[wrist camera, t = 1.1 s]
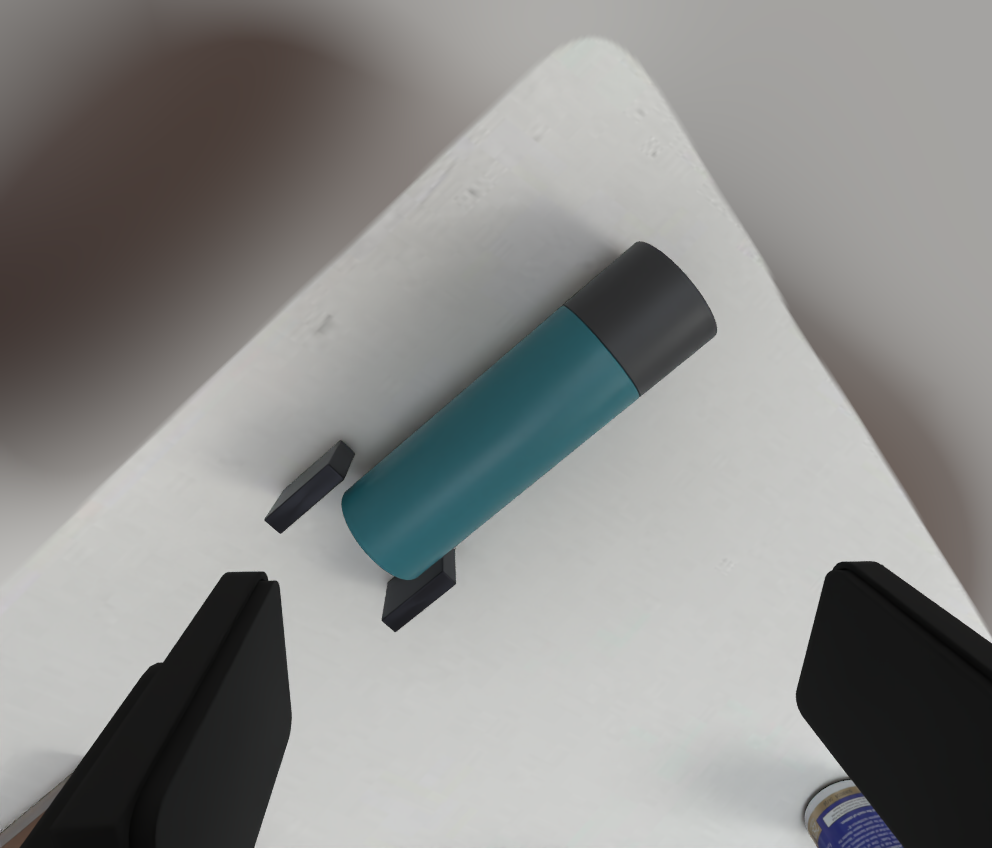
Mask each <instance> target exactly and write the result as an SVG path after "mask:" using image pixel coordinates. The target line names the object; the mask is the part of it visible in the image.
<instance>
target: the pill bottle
mask: <svg viewBox="0 0 992 848" xmlns="http://www.w3.org/2000/svg"><path fill="white" fill-rule="evenodd" d="M805 825H806V829H807V831H808V833H809V834H810V836H811V838H812V839H813V841H814V842H815V844H816V846H817V847H818V848H904V847H903V846H902V845H901V843H900V842H899V841H898V840H897V838H896V837H895V836H894V834H893V833H892V832H891V831H890V829H889V828H888V827H887V825H886V824H885V823H884V821H883V820H882V819H881V818H880V816H879V815H878V814H877V812H876V811H875V810H874V808H873V807H872V806H871V805H870V803H869V802H868V801H867V799H866V798H865V797H864V795H863V794H862V793H861V792H860V790H859V789H858V788H857V786H856V785H855V784H854V783H853V781H852V780H846V781H841V782H838V783H835V784H832V785H830V786H828V787H826V788H825V789H823V790H822V791H820V792H819V793H818V794H817V795H816V796H815V797H814V798H813V799H812V800H811V802H810V803H809V805H808V807H807V809H806V812H805Z"/></svg>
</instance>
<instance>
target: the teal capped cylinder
mask: <svg viewBox="0 0 992 848" xmlns="http://www.w3.org/2000/svg"><path fill="white" fill-rule="evenodd" d="M716 333H717V325H716V322H715V319H714V316H713V314H712V312H711V310H710V308H709V306H708V304H707V303H706V301H705V300H704V298H703V296H702V295H701V293H700V292H699V291H698V289H697V288H696V287H695V285H694V284H693V283H692V282H691V280H690V279H689V278H688V277H687V276H686V274H685V273H684V272H683V271H682V270H681V269H680V268H679V267H678V266H677V265H676V264H675V263H674V262H673V261H672V260H671V259H670V258H668V257H667V256H666V255H665V254H664V253H662V252H661V251H660V250H658V249H657V248H655V247H654V246H652V245H650V244H648V243H645V242H640V241H639V242H636V243H635V244H634V245H632V246H631V247H630V248H629V249H628V250H627V251H625V252H624V253H623V254H622V255H621V256H620V257H618V258H617V259H616V260H615V261H614V262H613V263H611V264H610V265H609V266H608V267H607V268H606V269H604V270H603V271H602V272H601V273H600V274H599V275H597V276H596V277H595V278H594V279H593V280H592V281H590V282H589V283H588V284H587V285H586V286H585V287H583V288H582V289H581V290H580V291H579V292H578V293H576V294H575V295H574V296H573V297H572V298H571V299H569V300H568V301H567V302H566V303H565V304H564V305H563V306H561V307H560V308H559V309H558V310H557V311H555V312H554V313H553V314H552V315H551V316H550V317H548V318H547V319H546V320H545V321H544V322H543V323H541V324H540V325H539V326H538V327H537V328H536V329H534V330H533V331H532V332H531V333H530V334H529V335H527V336H526V337H525V338H524V339H523V340H522V341H520V342H519V343H518V344H517V345H516V346H515V347H513V348H512V349H511V350H510V351H509V352H508V353H506V354H505V355H504V356H503V357H502V358H501V359H499V360H498V361H497V362H496V363H495V364H494V365H492V366H491V367H490V368H489V369H488V370H487V371H485V372H484V373H483V374H482V375H481V376H480V377H478V378H477V379H476V380H475V381H474V382H473V383H471V384H470V385H469V386H468V387H467V388H466V389H465V390H463V391H462V392H461V393H460V394H459V395H458V396H456V397H455V398H454V399H453V400H452V401H451V402H449V403H448V404H447V405H446V406H445V407H444V408H442V409H441V410H440V411H439V412H438V413H437V414H435V415H434V416H433V417H432V418H431V419H430V420H428V421H427V422H426V423H425V424H424V425H423V426H421V427H420V428H419V429H418V430H417V431H416V432H414V433H413V434H412V435H411V436H410V437H409V438H407V439H406V440H405V441H404V442H403V443H402V444H400V445H399V446H398V447H397V448H396V449H395V450H393V451H392V452H391V453H390V454H389V455H388V456H386V457H385V458H384V459H383V460H382V461H381V462H379V463H378V464H377V465H376V466H375V467H374V468H372V469H371V470H370V471H369V472H368V473H367V474H365V475H364V476H363V477H362V478H361V479H360V480H358V481H357V482H356V483H355V484H354V485H353V486H351V487H350V488H349V489H348V490H347V491H346V492H345V493H344V495H343V497H342V503H341V505H342V511H343V515H344V518H345V521H346V523H347V525H348V527H349V529H350V531H351V533H352V535H353V536H354V538H355V539H356V541H357V542H358V544H359V545H360V546H361V548H362V549H363V550H364V551H365V552H366V554H367V555H368V556H369V557H370V558H371V559H372V560H373V561H374V562H375V563H376V564H378V565H379V566H380V567H381V568H382V569H384V570H385V571H387V572H388V573H390V574H391V575H393V576H395V577H397V578H400V579H404V580H412V579H415V578H417V577H418V576H420V575H421V574H422V573H423V572H424V571H426V570H427V569H428V568H429V567H431V566H432V565H433V564H434V563H436V562H437V561H438V560H439V559H441V558H442V557H443V556H444V555H445V554H447V553H448V552H449V551H450V550H452V549H453V548H454V547H455V546H457V545H458V544H459V543H460V542H462V541H463V540H464V539H465V538H466V537H468V536H469V535H470V534H471V533H473V532H474V531H475V530H476V529H478V528H479V527H480V526H481V525H482V524H484V523H485V522H486V521H487V520H489V519H490V518H491V517H492V516H494V515H495V514H496V513H497V512H499V511H500V510H501V509H502V508H503V507H505V506H506V505H507V504H508V503H510V502H511V501H512V500H513V499H515V498H516V497H517V496H518V495H520V494H521V493H522V492H523V491H524V490H526V489H527V488H528V487H529V486H531V485H532V484H533V483H534V482H536V481H537V480H538V479H539V478H540V477H542V476H543V475H544V474H545V473H547V472H548V471H549V470H550V469H552V468H553V467H554V466H555V465H557V464H558V463H559V462H560V461H561V460H563V459H564V458H565V457H566V456H568V455H569V454H570V453H571V452H573V451H574V450H575V449H576V448H578V447H579V446H580V445H581V444H582V443H584V442H585V441H586V440H587V439H589V438H590V437H591V436H592V435H594V434H595V433H596V432H597V431H599V430H600V429H601V428H602V427H603V426H605V425H606V424H607V423H608V422H610V421H611V420H612V419H613V418H615V417H616V416H617V415H618V414H619V413H621V412H622V411H623V410H624V409H626V408H627V407H628V406H629V405H631V404H632V403H633V402H634V401H636V400H637V399H638V398H639V397H640V396H642V395H643V394H644V393H645V392H647V391H648V390H649V389H650V388H652V387H653V386H654V385H655V384H657V383H658V382H659V381H660V380H661V379H663V378H664V377H665V376H666V375H668V374H669V373H670V372H671V371H673V370H674V369H675V368H676V367H677V366H679V365H680V364H681V363H682V362H684V361H685V360H686V359H687V358H689V357H690V356H691V355H692V354H694V353H695V352H696V351H697V350H698V349H700V348H701V347H702V346H703V345H705V344H706V343H707V342H708V341H710V340H711V339H712V338H713V337H714V336H715V335H716Z"/></svg>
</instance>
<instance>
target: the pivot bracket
mask: <svg viewBox="0 0 992 848" xmlns="http://www.w3.org/2000/svg"><path fill="white" fill-rule="evenodd" d="M354 455H355V453H354V452H353V451H352V450H351V449H350V448H349V447H348V446H347V445H346V444H345V443H344V442H343V441H339V442H338V443H337V444H336V445H334V446H333V447H332V448H331V449H330V450H329V451H328V452H326V453H325V454H324V455H323V456H322V457H321V458H320V459H318V460H317V461H316V462H315V463H314V464H313V465H312V466H310V467H309V468H308V469H307V470H306V471H305V472H304V473H302V474H301V475H300V476H299V477H298V478H297V479H296V480H294V481H293V482H292V483H291V484H290V485H289V486H288V487H286V488H285V489H284V490H283V492H282V493H281V495H280V496H279V498H278V499H277V501H276V502H275V504H274V505H273V507H272V508H271V510H270V511H269V513H268V514H267V516H266V517H265V519H264V520H265V521H266V522H267V523H268V524H269V525H270V526H272V527H273V528H274V529H275V530H276V531H277V532H279V533H280V534H281V533H283V532H284V531H285V530H286V529H287V528H288V527H289V526H291V525H292V524H293V523H294V522H295V521H296V520H298V519H299V518H300V517H301V516H302V515H303V514H305V513H306V512H307V511H308V510H309V509H310V508H312V507H313V506H314V505H315V504H316V503H317V502H318V501H320V500H321V499H322V498H323V497H324V496H325V495H327V494H328V493H329V492H330V491H331V490H332V489H334V488H335V487H336V486H337V485H338V484H339V483H341V482H342V481H343V480H344V478H345V476H346V474H347V471H348V469H349V467H350V464H351V462H352V460H353V457H354ZM455 584H456V570H455V549H454V548H453V549H452V550H450V551H449V552H448V553H447V554H445V555H444V556H443V557H442V558H441V559H439V560H438V561H437V562H436V563H434V564H433V565H432V566H431V567H429V568H428V569H427V570H426V571H424V572H423V573H422V574H421V575H420V576H418V577H417V578H415V579H412V580H404V579H400V578H397V577H394V578H393V579H392V580H390V581H389V582H388V584H387V590H386V597H385V603H384V609H383V615H382V621H383V622H384V623H385V624H386V625H387V626H388V627H390V628H391V629H392V630H393V631H394V632H396V631H398V630H399V629H400V628H401V627H403V626H404V625H405V624H406V623H408V622H409V621H410V620H412V619H413V618H414V617H415V616H417V615H418V614H419V613H420V612H422V611H423V610H424V609H425V608H427V607H428V606H429V605H430V604H432V603H433V602H434V601H435V600H437V599H438V598H439V597H440V596H442V595H443V594H444V593H445V592H447V591H448V590H449V589H450V588H452V587H453V586H454V585H455Z"/></svg>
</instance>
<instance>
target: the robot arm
mask: <svg viewBox="0 0 992 848" xmlns="http://www.w3.org/2000/svg"><path fill="white" fill-rule="evenodd" d="M796 702H797V706H798V709H799V711H800V713H801V715H802V716H803V718H804V719H805V720H806V722H807V723H808V724H809V725H810V727H811V728H812V729H813V731H814V732H815V733H816V735H817V736H818V737H819V738H820V740H821V741H822V742H823V744H824V745H825V746H826V748H827V749H828V750H829V751H830V753H831V754H832V755H833V757H834V758H835V759H836V760H837V762H838V763H839V764H840V766H841V767H842V768H843V770H844V771H845V772H846V773H847V775H848V776H849V777H850V779H851V780H852V781H853V783H854V784H855V785H856V786H857V788H858V789H859V790H860V792H861V793H862V794H863V795H864V797H865V798H866V799H867V801H868V802H869V803H870V805H871V806H872V807H873V808H874V810H875V811H876V812H877V814H878V815H879V816H880V818H881V819H882V820H883V821H884V823H885V824H886V825H887V827H888V828H889V829H890V831H891V832H892V833H893V834H894V836H895V837H896V838H897V840H898V841H899V842H900V843H901V845H902V846H903V847H904V848H992V643H990V642H989V641H988V640H986V639H985V638H983V637H982V636H981V635H979V634H978V633H976V632H975V631H974V630H972V629H971V628H969V627H968V626H967V625H965V624H964V623H962V622H961V621H960V620H958V619H957V618H955V617H954V616H953V615H951V614H950V613H948V612H947V611H946V610H944V609H943V608H941V607H940V606H939V605H937V604H936V603H934V602H933V601H932V600H930V599H929V598H927V597H926V596H925V595H923V594H922V593H920V592H919V591H918V590H916V589H915V588H913V587H912V586H911V585H909V584H908V583H907V582H905V581H904V580H902V579H901V578H900V577H898V576H897V575H895V574H894V573H893V572H891V571H890V570H888V569H887V568H886V567H884V566H883V565H881V564H879V563H877V562H872V561H860V562H840V563H838V564H837V565H836V566H835V567H834V568H833V570H832V571H830V572H829V573H828V574H827V575H826V577H825V580H824V584H823V588H822V592H821V596H820V600H819V604H818V608H817V612H816V616H815V620H814V624H813V628H812V631H811V635H810V639H809V643H808V647H807V651H806V655H805V659H804V663H803V667H802V671H801V675H800V679H799V683H798V687H797V691H796ZM291 720H292V712H291V702H290V691H289V680H288V670H287V659H286V648H285V638H284V627H283V617H282V606H281V595H280V587H279V583H278V582H277V581H268V577H267V575H266V573H265V572H227V573H225V574H224V575H223V576H222V577H221V579H220V580H219V582H218V583H217V585H216V586H215V588H214V589H213V590H212V592H211V593H210V595H209V596H208V598H207V599H206V601H205V602H204V604H203V605H202V607H201V608H200V609H199V611H198V612H197V614H196V615H195V617H194V618H193V620H192V621H191V623H190V624H189V626H188V627H187V628H186V630H185V631H184V633H183V634H182V636H181V637H180V639H179V640H178V642H177V643H176V645H175V646H174V647H173V649H172V650H171V652H170V653H169V655H168V656H167V658H166V659H165V661H164V662H163V663H156V664H154V665H152V666H150V667H149V668H148V670H147V671H146V672H145V673H144V674H143V675H142V677H141V678H140V679H139V681H138V682H137V684H136V685H135V686H134V688H133V689H132V691H131V692H130V693H129V695H128V696H127V698H126V699H125V700H124V702H123V703H122V705H121V706H120V707H119V709H118V710H117V712H116V713H115V714H114V716H113V717H112V719H111V720H110V721H109V723H108V724H107V726H106V727H105V728H104V730H103V731H102V733H101V734H100V735H99V737H98V738H97V740H96V741H95V742H94V744H93V745H92V747H91V748H90V750H89V751H88V752H87V754H86V755H85V757H84V758H83V759H82V761H81V762H80V764H79V765H78V766H77V768H76V769H75V771H74V772H73V773H72V775H71V776H70V778H69V779H68V780H67V782H66V783H65V785H64V786H63V787H62V789H61V790H60V792H59V793H58V794H57V796H56V797H55V799H54V800H53V801H52V803H51V804H50V806H49V807H48V808H47V810H46V811H45V813H44V814H43V815H42V817H41V818H40V820H39V821H38V822H37V824H36V825H35V827H34V828H33V830H32V831H31V832H30V834H29V835H28V837H27V838H26V839H25V841H24V842H23V844H22V845H21V846H20V848H254V846H255V843H256V840H257V837H258V834H259V831H260V828H261V824H262V821H263V818H264V815H265V812H266V809H267V806H268V802H269V799H270V796H271V793H272V790H273V787H274V784H275V781H276V777H277V774H278V771H279V768H280V765H281V762H282V759H283V755H284V752H285V749H286V746H287V743H288V739H289V736H290V730H291Z"/></svg>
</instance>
